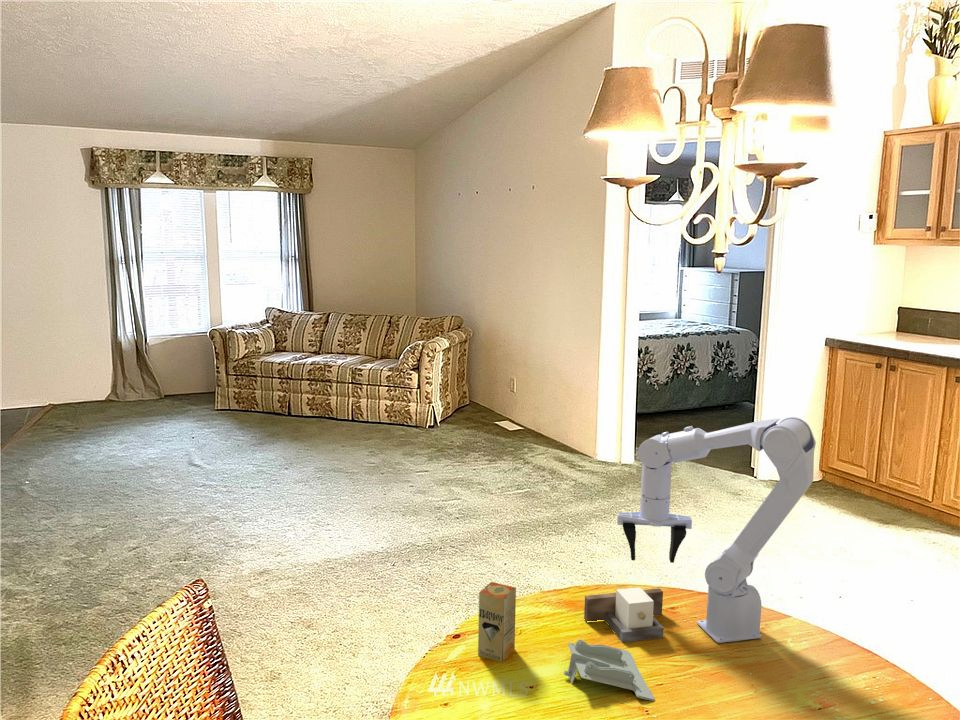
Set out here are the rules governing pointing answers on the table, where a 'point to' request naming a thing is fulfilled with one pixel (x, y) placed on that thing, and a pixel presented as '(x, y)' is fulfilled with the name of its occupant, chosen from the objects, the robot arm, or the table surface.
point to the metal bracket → (607, 667)
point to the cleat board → (605, 610)
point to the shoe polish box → (496, 621)
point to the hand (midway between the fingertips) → (652, 559)
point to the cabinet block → (634, 608)
